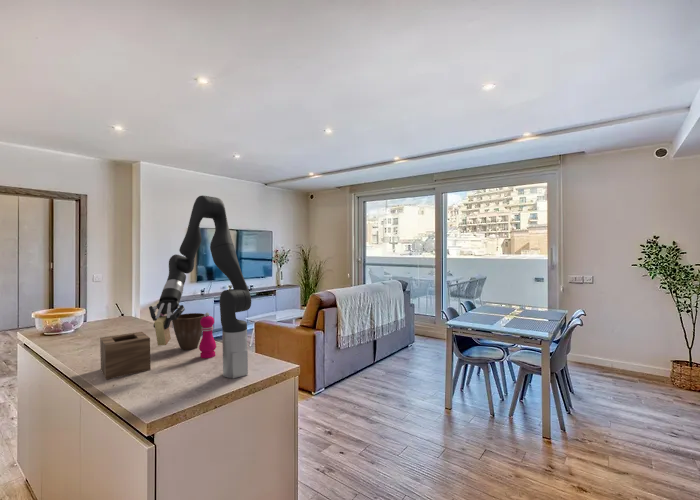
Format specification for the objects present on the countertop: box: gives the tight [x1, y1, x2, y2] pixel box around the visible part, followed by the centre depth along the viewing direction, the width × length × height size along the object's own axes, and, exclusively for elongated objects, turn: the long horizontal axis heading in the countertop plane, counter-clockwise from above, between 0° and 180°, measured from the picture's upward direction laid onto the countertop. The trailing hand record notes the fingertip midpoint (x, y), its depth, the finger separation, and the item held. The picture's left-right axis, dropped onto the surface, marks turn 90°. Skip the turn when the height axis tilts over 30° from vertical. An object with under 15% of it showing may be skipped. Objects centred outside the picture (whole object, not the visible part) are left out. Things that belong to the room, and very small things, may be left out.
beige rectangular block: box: [153, 315, 172, 347], centre depth 136 cm, size 5×3×10 cm, turn 7°
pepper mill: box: [198, 312, 217, 359], centre depth 158 cm, size 7×7×20 cm
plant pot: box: [171, 312, 206, 351], centre depth 172 cm, size 15×15×16 cm
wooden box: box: [99, 331, 152, 380], centre depth 142 cm, size 15×15×13 cm
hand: (160, 328), depth 134 cm, fingers closed on beige rectangular block, 2 cm apart
